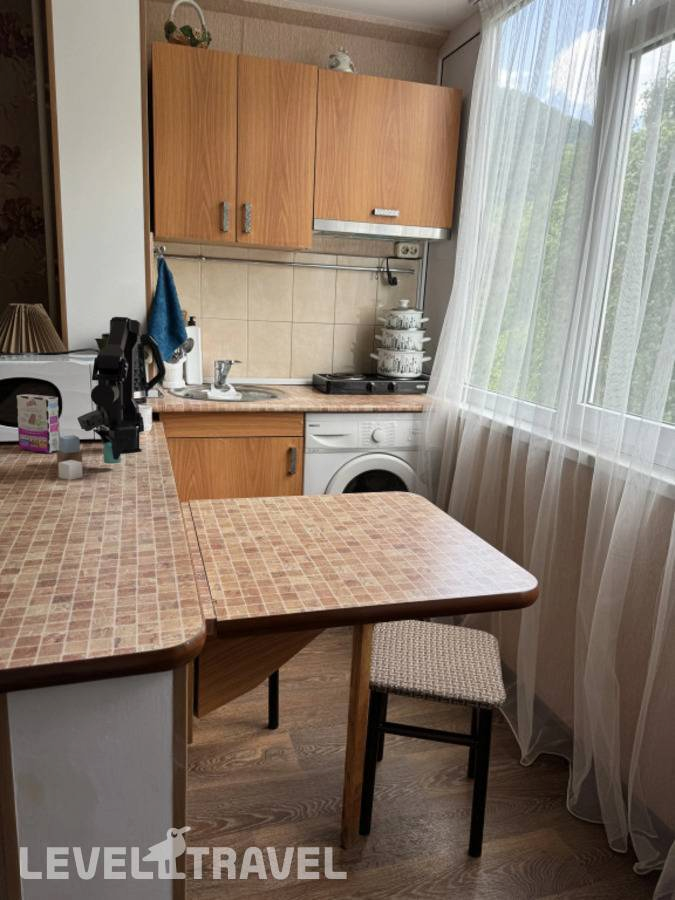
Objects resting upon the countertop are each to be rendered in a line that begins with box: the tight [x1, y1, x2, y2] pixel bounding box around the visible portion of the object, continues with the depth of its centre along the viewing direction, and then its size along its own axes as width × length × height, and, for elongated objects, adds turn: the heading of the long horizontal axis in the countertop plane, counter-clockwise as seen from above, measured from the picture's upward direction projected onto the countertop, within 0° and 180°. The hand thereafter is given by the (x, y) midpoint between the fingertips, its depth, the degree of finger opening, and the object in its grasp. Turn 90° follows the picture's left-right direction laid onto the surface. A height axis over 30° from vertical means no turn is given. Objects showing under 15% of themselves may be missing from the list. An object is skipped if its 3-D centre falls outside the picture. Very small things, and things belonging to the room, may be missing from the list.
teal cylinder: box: [102, 442, 122, 464], centre depth 174 cm, size 4×4×5 cm
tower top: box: [59, 434, 81, 453], centre depth 176 cm, size 4×4×4 cm
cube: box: [57, 460, 83, 481], centre depth 166 cm, size 4×4×4 cm
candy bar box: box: [16, 393, 61, 454], centre depth 190 cm, size 11×5×16 cm, turn 73°
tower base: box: [56, 450, 83, 465], centre depth 177 cm, size 5×5×4 cm
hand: (112, 457), depth 175 cm, fingers closed on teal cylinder, 4 cm apart
